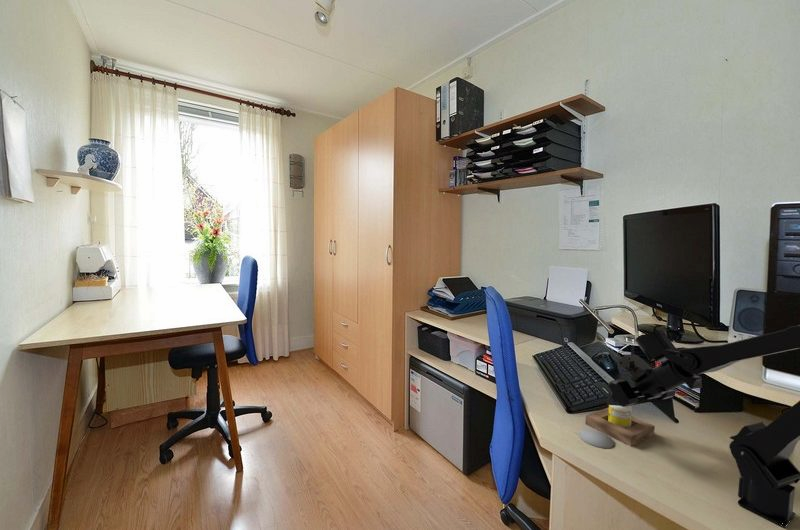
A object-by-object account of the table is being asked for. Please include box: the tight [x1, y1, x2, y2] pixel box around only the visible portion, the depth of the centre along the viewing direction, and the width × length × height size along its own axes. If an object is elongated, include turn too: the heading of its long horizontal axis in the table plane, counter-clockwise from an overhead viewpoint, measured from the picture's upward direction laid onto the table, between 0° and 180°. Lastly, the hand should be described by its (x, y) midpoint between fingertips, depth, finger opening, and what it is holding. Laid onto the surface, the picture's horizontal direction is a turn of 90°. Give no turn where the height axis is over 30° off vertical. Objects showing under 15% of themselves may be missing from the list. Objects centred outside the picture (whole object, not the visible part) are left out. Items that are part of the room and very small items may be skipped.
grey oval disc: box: [578, 428, 615, 449], centre depth 89 cm, size 8×8×1 cm
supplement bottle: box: [608, 405, 633, 429], centre depth 94 cm, size 5×5×10 cm
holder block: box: [584, 406, 656, 447], centre depth 94 cm, size 12×12×2 cm
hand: (619, 400), depth 94 cm, fingers open, 9 cm apart
